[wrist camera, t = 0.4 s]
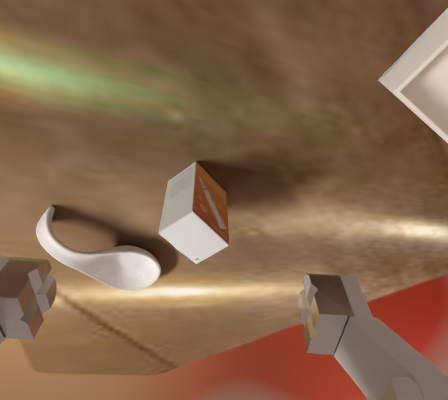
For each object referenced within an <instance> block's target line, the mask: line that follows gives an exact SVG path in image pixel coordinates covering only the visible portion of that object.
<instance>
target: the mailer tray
mask: <svg viewBox="0 0 448 400" xmlns="http://www.w3.org/2000/svg"><path fill="white" fill-rule="evenodd" d="M378 81H379V82H381V83H382V84H383V85H384V86H385V87H386V88H387V89H388V90H389V91H390V92H392V93H393V94H394V95H395V96H396V97H397V98H398V99H399V100H400V101H402V102H403V103H404V104H405V105H406V106H407V107H408V108H409V109H410V110H411V111H413V112H414V113H415V114H416V115H417V116H418V117H419V118H420V119H421V120H422V121H424V122H425V123H426V124H427V125H428V126H429V127H430V128H431V129H432V130H433V131H435V132H436V133H437V134H438V135H439V136H440V137H441V138H442V139H443V140H445V141H446V142H447V143H448V8H447V9H446V10H445V11H444V12H443V13H442V14H441V16H440V17H439V18H438V19H437V20H436V21H435V22H434V23H433V24H432V25H431V26H430V27H429V28H428V29H427V30H426V31H425V32H424V33H423V34H422V35H421V36H420V37H419V38H418V39H417V40H416V41H415V42H414V43H413V44H412V45H411V46H410V47H409V48H408V49H407V50H406V51H405V53H404V54H403V55H402V56H401V57H400V58H399V59H398V60H397V61H396V62H395V63H394V64H393V65H392V66H391V67H390V68H389V69H388V70H387V71H386V72H385V73H384V74H383V75H382V76H381V77H380V78H379V79H378Z"/></svg>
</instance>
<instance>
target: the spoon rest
mask: <svg viewBox="0 0 448 400" xmlns="http://www.w3.org/2000/svg"><path fill="white" fill-rule="evenodd" d="M54 212H55V208H54V207H53V206H50V207H49V208H48V209H47V210H46V212H45V213H44V214H43V216H42V217H41V218H40V220H39V222H38V224H37V228H36V235H37V238H38V240H39V242H40V244H41V245H42V246H43V248H44V249H45V250H46V251H47V252H48V253H49V254H50V255H52V256H53V257H54V258H55V259H57V260H58V261H60V262H61V263H63V264H65V265H67V266H69V267H71V268H74V269H76V270H78V271H80V272H82V273H84V274H86V275H88V276H90V277H92V278H94V279H96V280H98V281H99V282H101V283H104V284H105V285H108V286H110V287H113V288H116V289H120V290H140V289H143V288H146V287H148V286H150V285H152V284H153V283H154V282H155V281H156V280H157V279H158V278H159V276H160V274H161V267H160V264H159V263H158V261H157V259H156V258H155V257H154V256H153V255H152V254H151V253H149V252H148V251H146V250H144V249H142V248H139V247H135V246H130V245H125V246H117V247H113V248H109V249H104V250H100V251H93V252H81V251H76V250H73V249H71V248H69V247H67V246H66V245H64V244H63V243H62V242H60V241H59V240H58V239H57V237H56V236H55V234H54V232H53V230H52V218H53V215H54Z"/></svg>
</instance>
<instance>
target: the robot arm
mask: <svg viewBox="0 0 448 400" xmlns="http://www.w3.org/2000/svg"><path fill="white" fill-rule="evenodd" d="M51 269H52V268H51V265H50V262H49V261H48V260H44V259H31V258H19V257H2V256H0V344H1V343H2V342H3V341H4V340H5V338H14V339H34V337H35V336H36V334H37V332H38V330H39V328H40V326H41V325H42V323H43V321H44V319H43V316H42V314H43V313H44V312H46V311H47V310H49V309H50V308H51V306H52V304H53V302H54V300H55V296H56V281H55V279H54V278H53V277H52V276H51V275H50V274H49V272H50V271H51ZM303 284H304V288H305V289H304V290H302V291H301V292H300V297H299V307H298V308H299V317H300V321H301V322H302V324H303V325H304V326H305V328H304V331H303V337H304V342H305V346H306V351H307V353H317V354H330V355H334V357H335V358H336V359H337V360H338V362H339V363H340V364H341V366H343V368H344V369H345V370H346V372H347V373H348V374H349V375H350V377H351V378H352V379H353V380H354V382H355V383H356V384H357V385H358V387H359V388H360V389H361V390H362V392H363V393H364V394H365V396H366V397H367V398H368V399H369V400H448V377H447V376H445V375H444V374H443V373H442V372H441V371H440V370H438V369H437V368H436V367H435V366H434V365H432V364H431V363H430V362H429V361H428V360H427V359H426V358H424V357H423V356H422V355H421V354H420V353H418V352H417V351H416V350H415V349H414V348H413V347H411V346H410V345H409V344H408V343H407V342H405V341H404V340H403V339H402V338H401V337H400V336H398V335H397V334H396V333H395V332H394V331H392V330H391V329H390V328H389V327H388V326H386V325H385V324H384V323H383V322H382V321H381V320H379V319H378V318H373V317H372V314H371V312H370V310H369V307H368V305H367V303H366V300H365V298H364V295H363V293H362V291H361V288H360V286H359V284H358V281H357V279H356V277H354V276H349V275H326V274H306V275H305V277H304V281H303Z"/></svg>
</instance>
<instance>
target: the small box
mask: <svg viewBox="0 0 448 400" xmlns="http://www.w3.org/2000/svg"><path fill="white" fill-rule="evenodd" d="M159 234H160V235H161V236H162V237H163V238H165V239H166V240H167V241H168V242H169V243H171V244H172V245H173V246H174V247H175V248H176V249H177V250H178V251H180V252H181V253H183V254H184V255H185V256H187V257H188V258H189V259H190V260H192V261H193V262H194V263H195V264H197V263H199V262H201V261H203V260H205V259H206V258H208V257H210V256H212V255H213V254H215V253H217V252H218V251H220V250H222V249H224V248H225V247H227V246H229V236H228V215H227V193H226V191H225V190H223V189H222V188H221V187H220V186H219V185H218V184H217V183H216V182H215V181H214V180H213V179H212V178H211V176H210V175H209V174H208V173H207V172H206V171H205V170H204V169H203V168H202V167H201V166H200V165H199V164H198V162H194V163H193V164H192V165H190V166H189V167H187V168H186V169H185V170H183V171H182V172H180V173H179V174H177V175H176V176H175V177H173V178H172V179H170V180H169V181H168V185H167V190H166V195H165V201H164V207H163V212H162V218H161V223H160V228H159Z"/></svg>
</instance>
